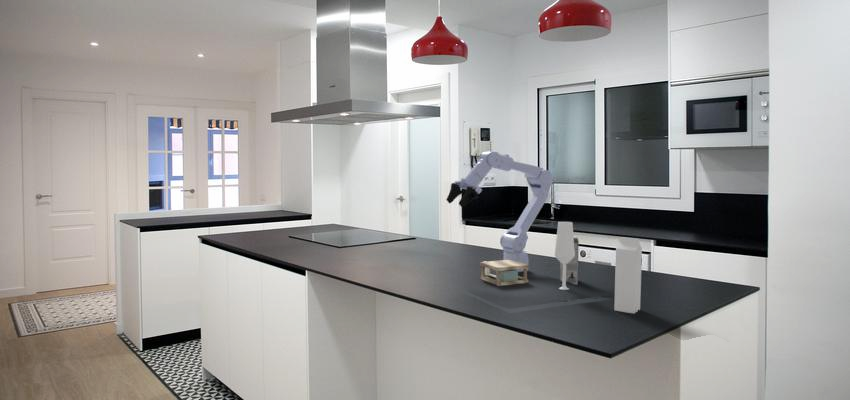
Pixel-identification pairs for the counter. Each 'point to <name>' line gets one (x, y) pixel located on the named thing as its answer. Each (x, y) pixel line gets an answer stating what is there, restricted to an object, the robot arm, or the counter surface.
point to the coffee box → (571, 266)
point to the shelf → (498, 282)
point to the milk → (628, 275)
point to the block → (504, 274)
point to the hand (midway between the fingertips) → (454, 203)
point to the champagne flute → (564, 247)
